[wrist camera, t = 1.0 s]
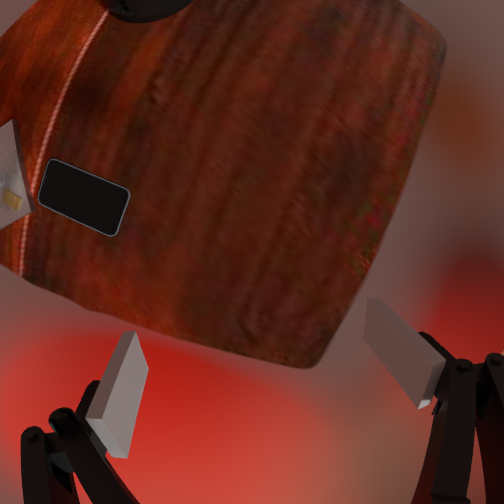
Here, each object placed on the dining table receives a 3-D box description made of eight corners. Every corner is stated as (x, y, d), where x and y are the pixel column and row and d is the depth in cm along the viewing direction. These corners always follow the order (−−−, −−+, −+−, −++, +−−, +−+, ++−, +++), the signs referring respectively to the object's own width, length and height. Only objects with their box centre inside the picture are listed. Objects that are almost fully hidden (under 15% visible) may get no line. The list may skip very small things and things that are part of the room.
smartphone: (114, 239, 39) (36, 202, 35) (116, 237, 40) (39, 202, 36) (131, 190, 37) (49, 156, 34) (133, 190, 38) (52, 156, 35)
